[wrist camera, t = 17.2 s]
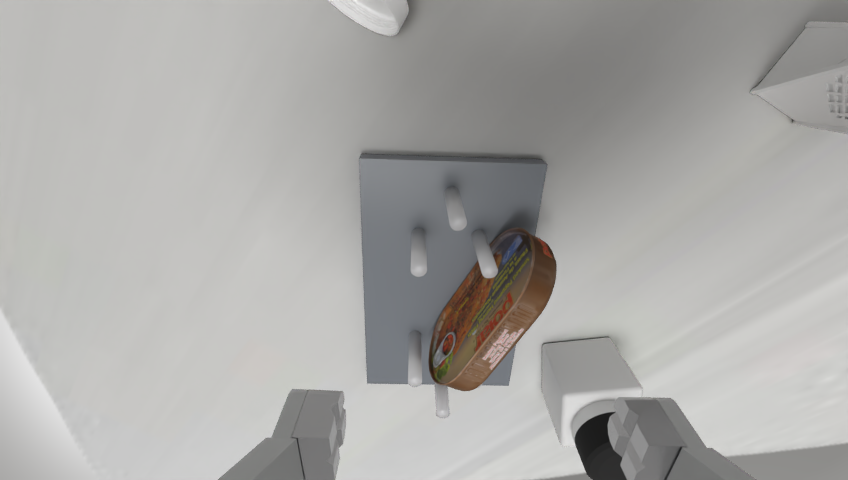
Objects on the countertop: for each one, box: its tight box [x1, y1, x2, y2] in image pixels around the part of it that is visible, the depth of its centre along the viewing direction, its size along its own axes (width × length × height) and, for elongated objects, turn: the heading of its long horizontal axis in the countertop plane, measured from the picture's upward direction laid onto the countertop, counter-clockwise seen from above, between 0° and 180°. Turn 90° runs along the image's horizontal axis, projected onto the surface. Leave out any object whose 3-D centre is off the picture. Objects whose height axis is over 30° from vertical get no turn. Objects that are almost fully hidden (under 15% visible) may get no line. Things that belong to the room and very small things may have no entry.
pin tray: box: [359, 154, 547, 418], centre depth 35 cm, size 15×24×8 cm, turn 178°
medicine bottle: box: [542, 337, 643, 480], centre depth 38 cm, size 7×7×12 cm
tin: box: [428, 227, 556, 391], centre depth 33 cm, size 15×3×8 cm, turn 150°
